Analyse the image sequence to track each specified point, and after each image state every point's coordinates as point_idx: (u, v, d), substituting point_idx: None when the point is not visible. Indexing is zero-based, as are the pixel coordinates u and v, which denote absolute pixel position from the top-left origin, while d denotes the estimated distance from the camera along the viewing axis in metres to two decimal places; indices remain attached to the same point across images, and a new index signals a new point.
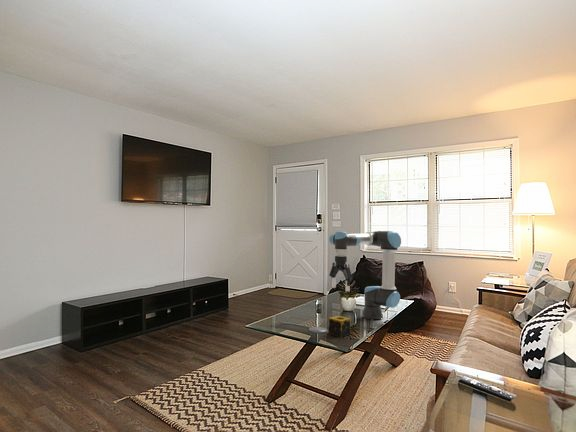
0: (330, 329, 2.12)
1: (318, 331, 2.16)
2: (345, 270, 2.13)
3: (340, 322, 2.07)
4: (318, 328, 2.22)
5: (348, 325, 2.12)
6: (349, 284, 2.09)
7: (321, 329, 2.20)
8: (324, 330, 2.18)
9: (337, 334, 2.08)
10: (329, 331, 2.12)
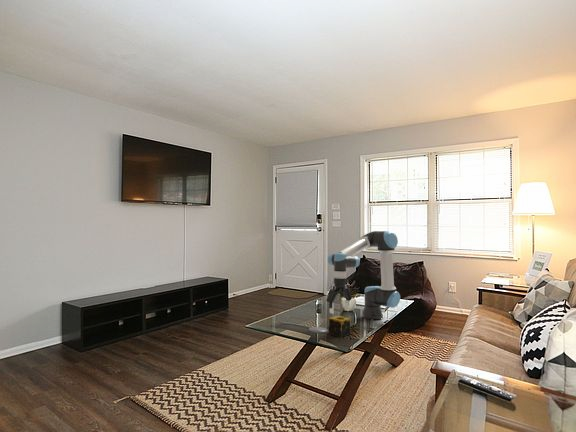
0: (330, 329, 2.12)
1: (318, 331, 2.16)
2: (335, 292, 2.11)
3: (340, 322, 2.07)
4: (318, 328, 2.22)
5: (348, 325, 2.12)
6: (330, 306, 2.08)
7: (321, 329, 2.20)
8: (324, 330, 2.18)
9: (337, 334, 2.08)
10: (329, 331, 2.12)
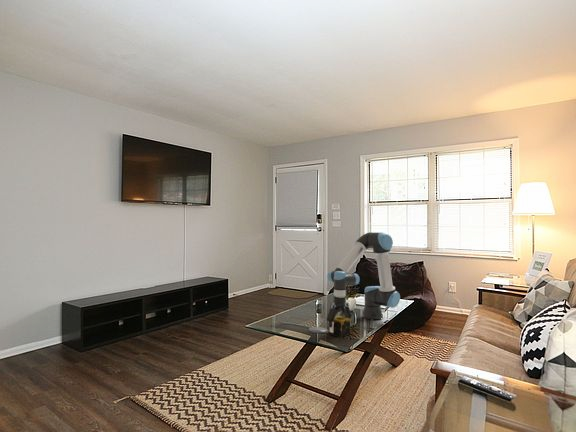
0: None
1: (318, 331, 2.16)
2: (335, 311, 2.11)
3: (340, 322, 2.07)
4: (318, 328, 2.22)
5: (348, 325, 2.12)
6: (330, 325, 2.08)
7: (321, 329, 2.20)
8: (324, 330, 2.18)
9: (337, 334, 2.08)
10: None
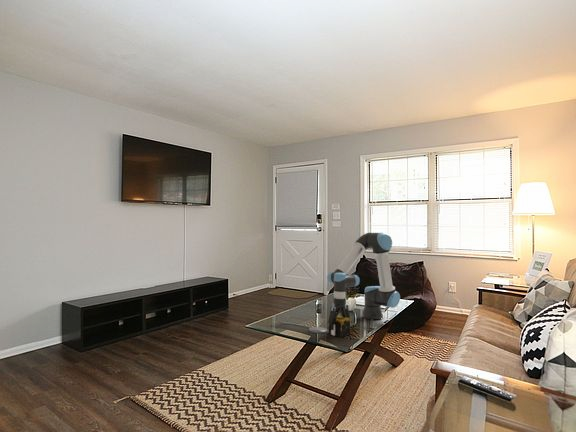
0: (330, 329, 2.12)
1: (318, 331, 2.16)
2: (335, 313, 2.11)
3: (340, 322, 2.07)
4: (318, 328, 2.22)
5: (348, 325, 2.12)
6: (331, 328, 2.09)
7: (321, 329, 2.20)
8: (324, 330, 2.18)
9: (337, 334, 2.08)
10: (329, 331, 2.12)
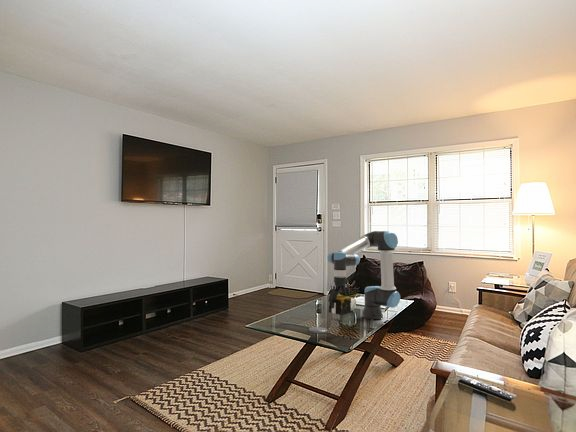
0: (330, 307, 2.13)
1: (318, 331, 2.16)
2: (336, 292, 2.11)
3: (340, 300, 2.08)
4: (318, 328, 2.22)
5: (348, 303, 2.12)
6: (332, 306, 2.09)
7: (321, 329, 2.20)
8: (324, 330, 2.18)
9: (337, 312, 2.09)
10: (329, 309, 2.13)
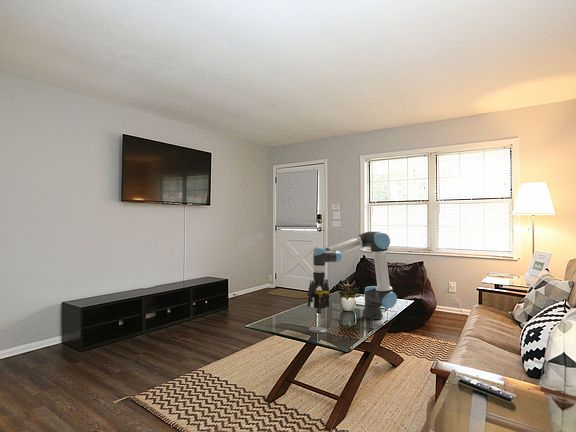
0: (309, 302, 2.19)
1: (318, 331, 2.16)
2: (314, 286, 2.18)
3: (318, 294, 2.14)
4: (318, 328, 2.22)
5: (327, 298, 2.19)
6: (310, 300, 2.16)
7: (321, 329, 2.20)
8: (324, 330, 2.18)
9: (316, 306, 2.15)
10: (308, 304, 2.20)
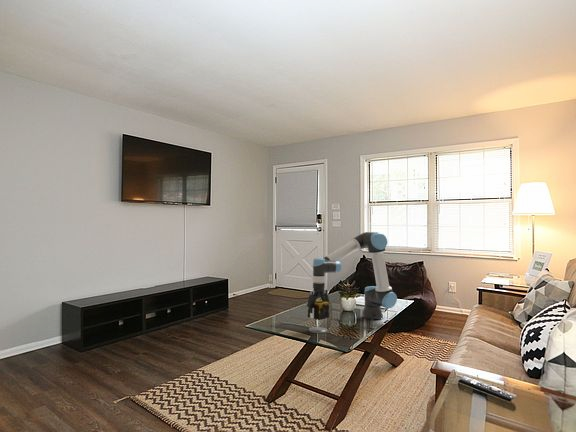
0: (309, 312, 2.19)
1: (318, 331, 2.16)
2: (314, 297, 2.18)
3: (318, 305, 2.14)
4: (318, 328, 2.22)
5: (327, 308, 2.18)
6: (310, 311, 2.16)
7: (321, 329, 2.20)
8: (324, 330, 2.18)
9: (316, 317, 2.15)
10: (308, 314, 2.19)
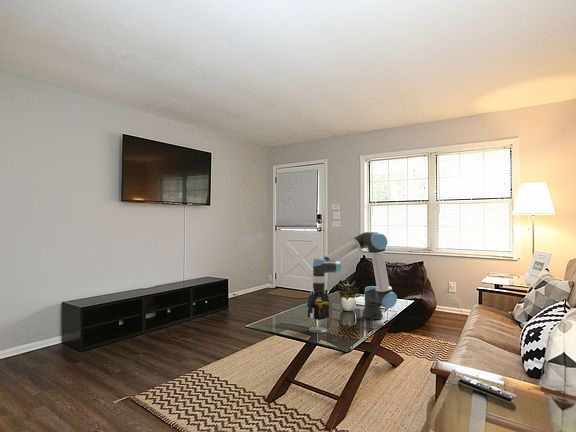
0: (309, 312, 2.19)
1: (318, 331, 2.16)
2: (314, 297, 2.18)
3: (318, 305, 2.14)
4: (318, 328, 2.22)
5: (327, 308, 2.18)
6: (310, 311, 2.16)
7: (321, 329, 2.20)
8: (324, 330, 2.18)
9: (316, 317, 2.15)
10: (308, 314, 2.19)
